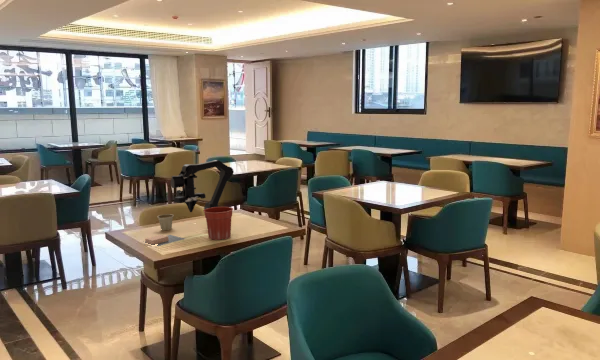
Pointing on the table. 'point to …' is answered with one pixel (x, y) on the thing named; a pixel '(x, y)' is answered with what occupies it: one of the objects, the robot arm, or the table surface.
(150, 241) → the salmon rectangular block
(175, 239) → the mat
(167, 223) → the flower pot
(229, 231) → the flower pot
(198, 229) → the table surface
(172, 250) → the table surface
